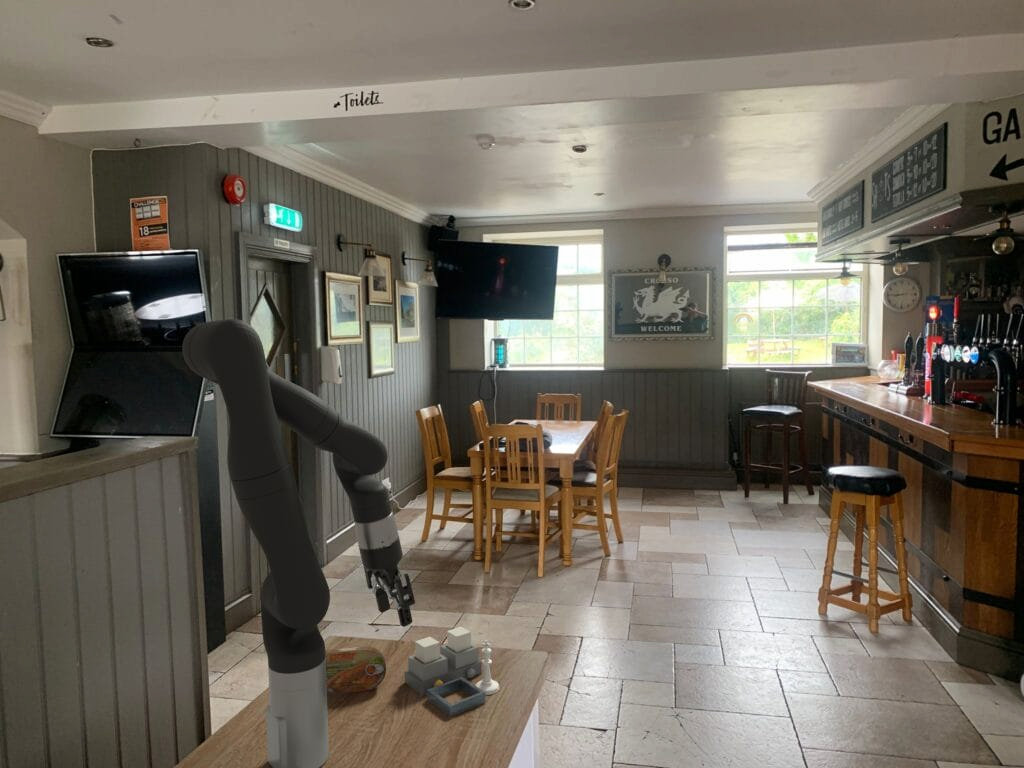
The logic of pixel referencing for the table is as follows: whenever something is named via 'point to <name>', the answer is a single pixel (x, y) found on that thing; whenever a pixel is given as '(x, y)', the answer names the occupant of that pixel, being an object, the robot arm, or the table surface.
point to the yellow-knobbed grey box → (442, 668)
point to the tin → (354, 669)
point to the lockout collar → (459, 706)
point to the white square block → (427, 650)
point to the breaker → (459, 639)
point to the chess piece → (487, 673)
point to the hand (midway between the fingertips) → (395, 617)
